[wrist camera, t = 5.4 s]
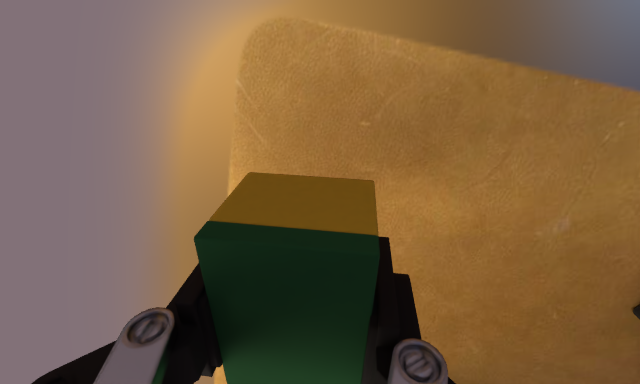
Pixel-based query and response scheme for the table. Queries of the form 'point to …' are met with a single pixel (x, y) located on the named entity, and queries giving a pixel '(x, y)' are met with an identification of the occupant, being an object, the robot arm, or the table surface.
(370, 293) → the sponge
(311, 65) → the table surface
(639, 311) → the camera
